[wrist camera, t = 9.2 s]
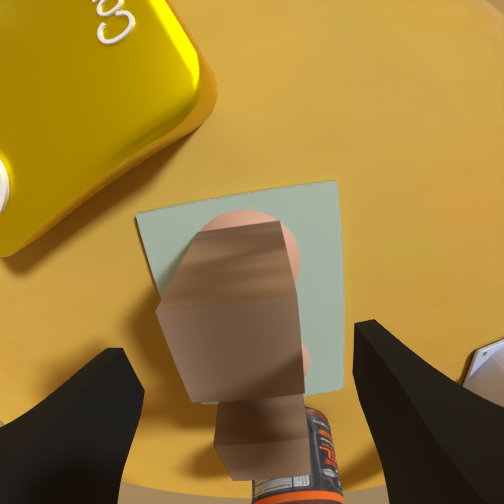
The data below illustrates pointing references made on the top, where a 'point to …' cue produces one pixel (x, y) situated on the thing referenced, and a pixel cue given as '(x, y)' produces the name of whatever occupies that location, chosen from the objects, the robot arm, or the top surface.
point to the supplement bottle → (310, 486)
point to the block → (263, 438)
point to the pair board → (299, 252)
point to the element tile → (88, 102)
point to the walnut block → (235, 316)
